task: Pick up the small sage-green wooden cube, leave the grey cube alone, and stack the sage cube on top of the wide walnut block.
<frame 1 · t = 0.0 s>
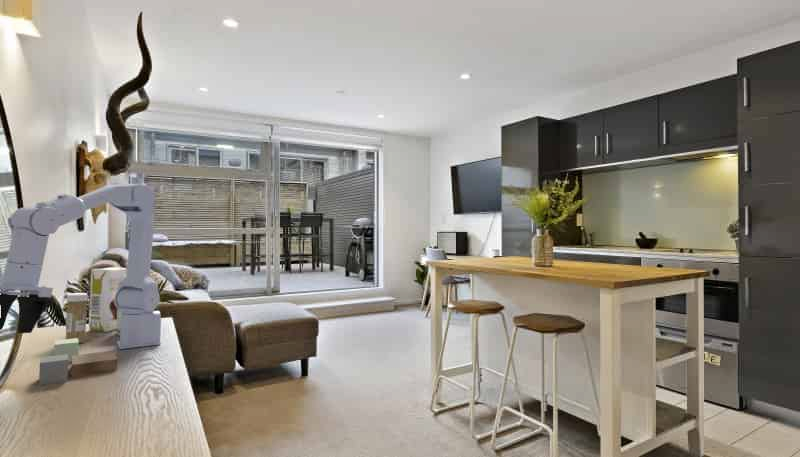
hand: (9, 331, 85), 11 cm above the table, tool pointing down, fingers open, 7 cm apart
grey block: (53, 380, 88), on the table
walnut block: (93, 370, 96), on the table
sage block: (65, 360, 101), on the table
syrup box: (129, 334, 127), on the table
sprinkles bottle: (75, 343, 116), on the table
juice carton: (106, 329, 132), on the table
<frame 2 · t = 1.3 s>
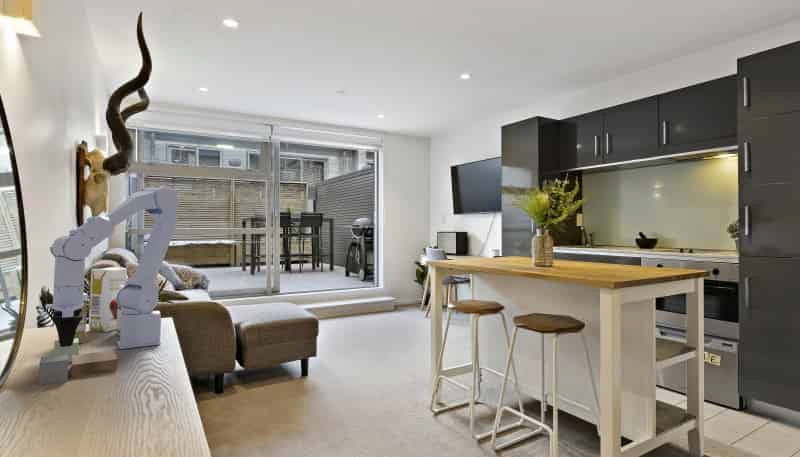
hand: (66, 342, 101), 4 cm above the table, tool pointing down, fingers open, 7 cm apart
nothing on the table moved.
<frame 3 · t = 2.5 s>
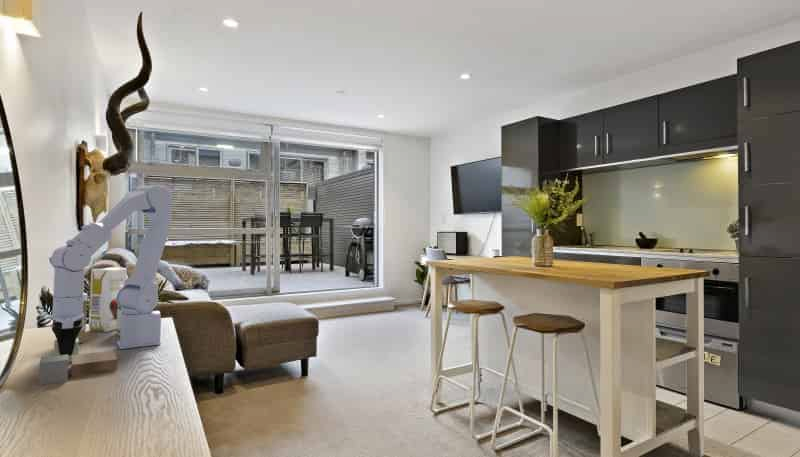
hand: (66, 352, 101), 2 cm above the table, tool pointing down, fingers closed on sage block, 4 cm apart
sage block: (65, 359, 101), on the table, touching gripper
everything else where it was.
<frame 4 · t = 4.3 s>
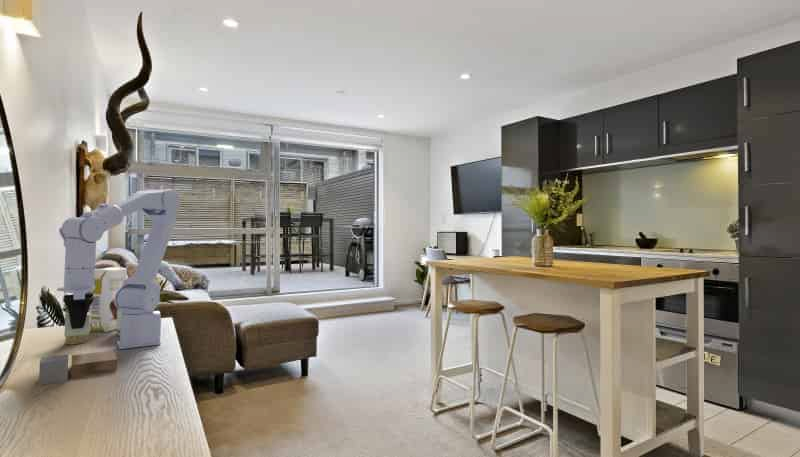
hand: (77, 326, 99), 9 cm above the table, tool pointing down, fingers closed on sage block, 4 cm apart
sage block: (76, 333, 99), point 7 cm above the table, touching gripper
everything else where it was.
when the fingers open (6 cm above the table, at t = 5.9 s): sage block drops 2 cm, resting on walnut block.
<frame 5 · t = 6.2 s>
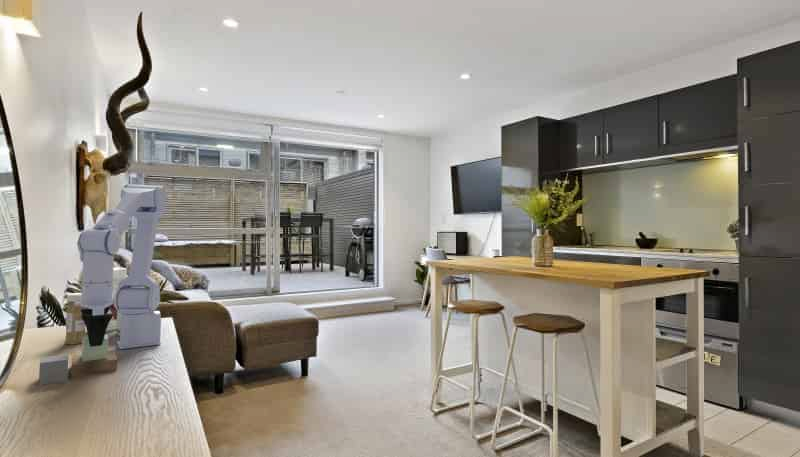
hand: (95, 341, 96), 6 cm above the table, tool pointing down, fingers open, 7 cm apart
walnut block: (93, 370, 96), on the table, touching sage block
sage block: (94, 357, 96), point 3 cm above the table, touching walnut block
everything else where it was.
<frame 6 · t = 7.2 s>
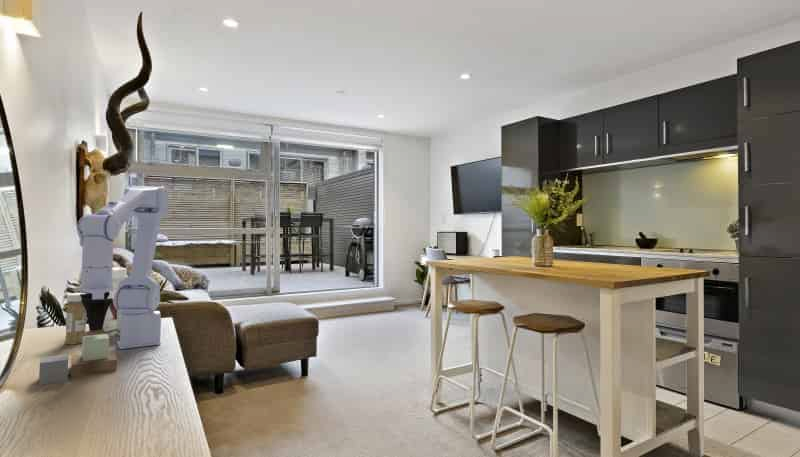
hand: (94, 326, 96), 9 cm above the table, tool pointing down, fingers open, 7 cm apart
nothing on the table moved.
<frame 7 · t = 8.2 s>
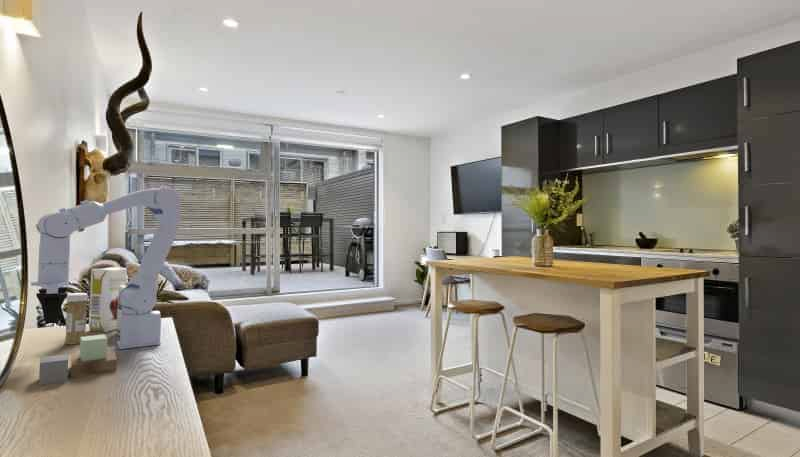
hand: (51, 320, 101), 9 cm above the table, tool pointing down, fingers open, 7 cm apart
nothing on the table moved.
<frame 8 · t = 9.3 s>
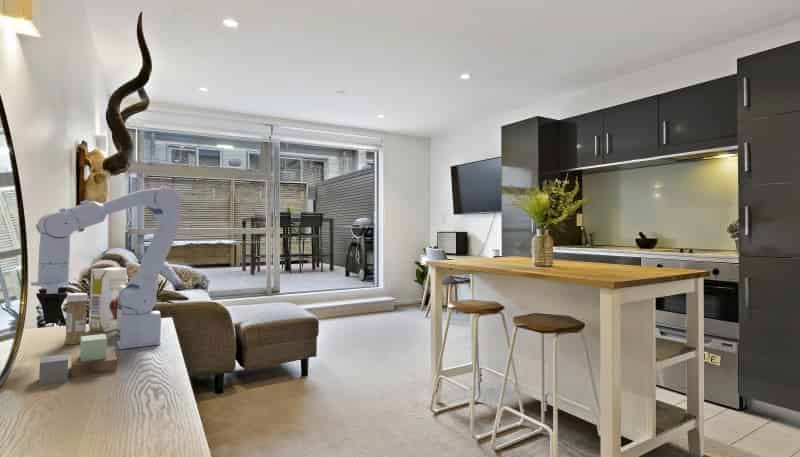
hand: (51, 320, 101), 9 cm above the table, tool pointing down, fingers open, 7 cm apart
nothing on the table moved.
at the end: sage block 0.4 cm off-centre on the walnut block, point 3.1 cm above the walnut block's base; sage block tilted 1°; the gripper is holding nothing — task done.
